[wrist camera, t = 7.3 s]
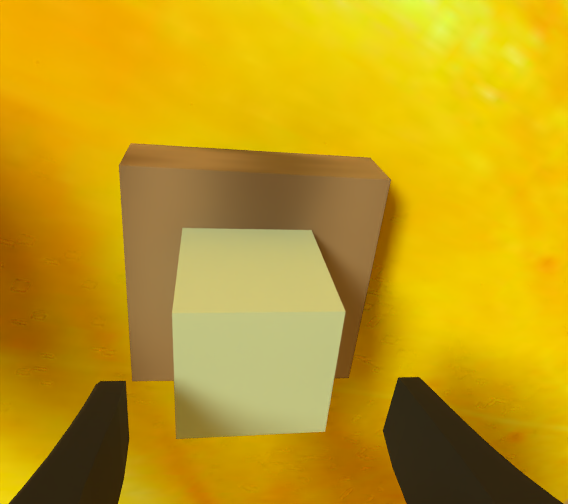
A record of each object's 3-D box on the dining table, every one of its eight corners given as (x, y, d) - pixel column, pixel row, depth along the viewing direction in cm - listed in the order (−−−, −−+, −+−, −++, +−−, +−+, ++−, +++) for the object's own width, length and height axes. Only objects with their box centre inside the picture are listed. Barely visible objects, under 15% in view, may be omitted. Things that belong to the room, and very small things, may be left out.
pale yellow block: (184, 333, 19) (176, 438, 14) (182, 227, 16) (172, 313, 12) (299, 331, 19) (325, 431, 15) (311, 230, 17) (345, 311, 13)
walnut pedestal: (142, 334, 22) (132, 381, 19) (133, 139, 18) (119, 165, 15) (333, 334, 23) (348, 378, 21) (366, 154, 19) (390, 179, 17)
